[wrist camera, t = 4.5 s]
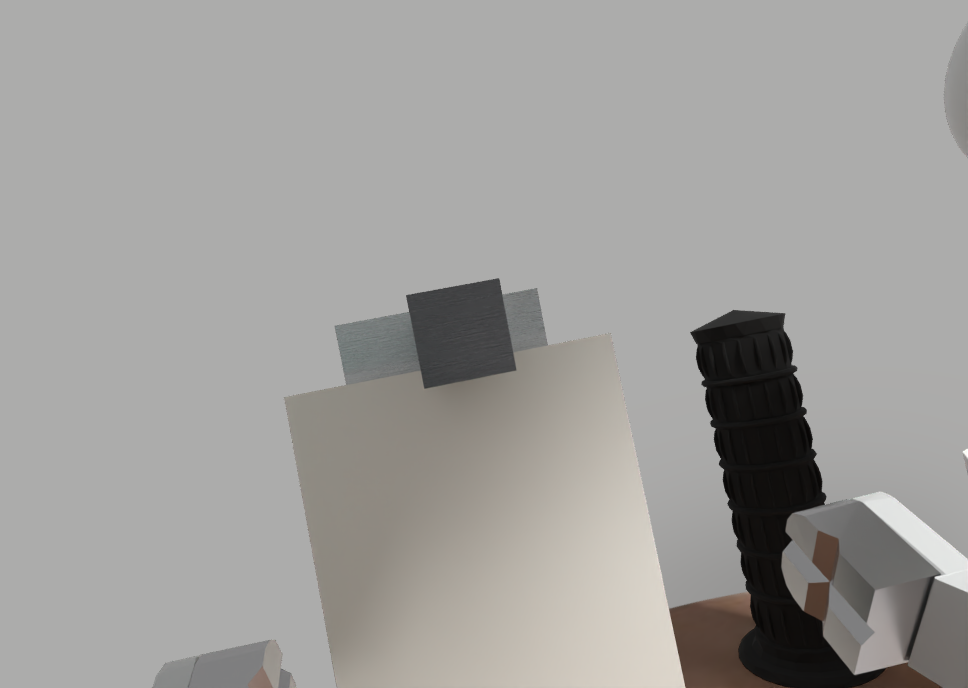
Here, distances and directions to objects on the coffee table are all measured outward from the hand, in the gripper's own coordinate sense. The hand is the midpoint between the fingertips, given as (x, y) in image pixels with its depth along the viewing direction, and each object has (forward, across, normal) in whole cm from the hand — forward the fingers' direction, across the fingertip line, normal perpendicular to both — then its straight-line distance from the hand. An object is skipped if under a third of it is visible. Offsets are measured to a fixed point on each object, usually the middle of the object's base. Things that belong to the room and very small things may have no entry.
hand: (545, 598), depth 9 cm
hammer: (+16, 0, +4) cm, 16 cm away
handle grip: (+19, -23, +36) cm, 47 cm away
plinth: (+10, 0, +31) cm, 32 cm away
